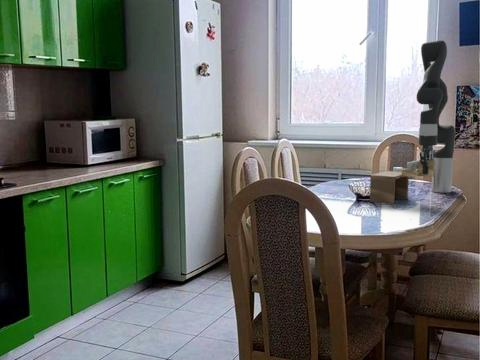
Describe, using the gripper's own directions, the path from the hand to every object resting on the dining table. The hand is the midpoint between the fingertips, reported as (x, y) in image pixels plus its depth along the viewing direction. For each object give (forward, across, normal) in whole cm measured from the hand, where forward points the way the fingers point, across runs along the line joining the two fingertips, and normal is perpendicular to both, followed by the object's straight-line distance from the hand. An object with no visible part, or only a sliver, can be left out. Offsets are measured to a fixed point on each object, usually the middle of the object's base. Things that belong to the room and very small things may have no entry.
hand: (426, 173), depth 240 cm
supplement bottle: (+14, -20, -20) cm, 32 cm away
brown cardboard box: (+13, 0, -16) cm, 21 cm away
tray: (+1, 0, -3) cm, 3 cm away
